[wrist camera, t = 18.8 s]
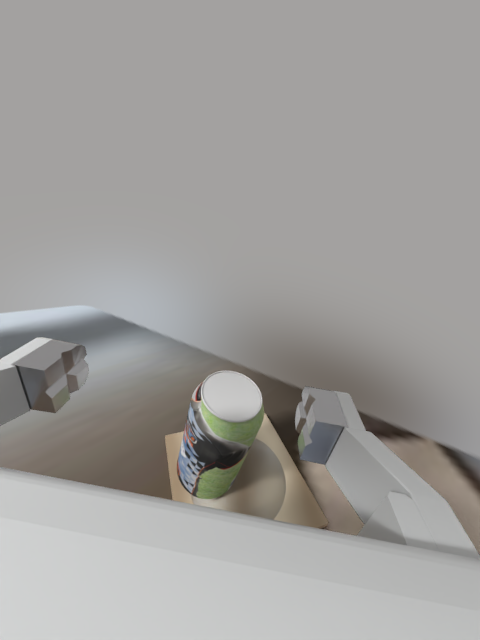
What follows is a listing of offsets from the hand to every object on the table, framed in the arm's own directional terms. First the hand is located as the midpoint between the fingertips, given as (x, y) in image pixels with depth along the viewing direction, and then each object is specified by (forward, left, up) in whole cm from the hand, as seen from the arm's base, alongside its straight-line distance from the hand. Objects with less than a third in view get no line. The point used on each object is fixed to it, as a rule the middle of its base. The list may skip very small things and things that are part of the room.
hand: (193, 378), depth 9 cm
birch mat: (+7, +6, -20) cm, 22 cm away
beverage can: (+4, +7, -19) cm, 21 cm away
